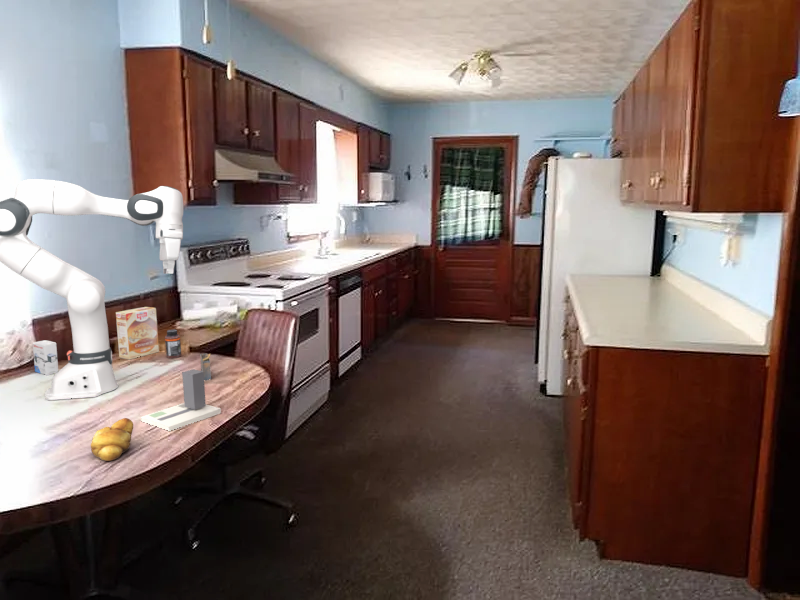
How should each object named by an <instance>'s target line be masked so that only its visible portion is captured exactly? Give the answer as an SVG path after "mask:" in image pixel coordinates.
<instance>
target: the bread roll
mask: <svg viewBox="0 0 800 600" xmlns="http://www.w3.org/2000/svg"><path fill="white" fill-rule="evenodd" d="M133 431H134V422H133V421H132V419H130V418H128V417H124V418H121V419H118V420H117V421H116V422H114V423H113V424H111V425H110V426H105V427H103V428H100V429H98V430H97V431H96V432H95V433H94V435H93V437H92V439H91V443H90V449H91V450H90V451H91V452H92V454H93V455H94V456H95V457H97V458H99V459H100V460H102V461H108V462H109V461H113V460H117V459H118V458H120V457H121V455H122V453H125V452H127V451H128V450H129V448H130V447H131V441H132V435H133Z"/></svg>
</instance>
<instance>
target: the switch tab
mask: <svg viewBox="0 0 800 600" xmlns="http://www.w3.org/2000/svg"><path fill="white" fill-rule="evenodd" d="M181 375H182V376H181V377H182V387H183V403H184V405H185V407H187V408H191V409H194V410H196V409H199V408H202V407H204V406H206V403H207V402H206V392H205V391H206V389H205V388H206V387H205V381H204V372H203V371H201V370H198V369H193V368H192V369H188V370H185V371H182V374H181Z"/></svg>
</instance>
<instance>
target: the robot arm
mask: <svg viewBox="0 0 800 600" xmlns="http://www.w3.org/2000/svg"><path fill="white" fill-rule="evenodd" d="M37 214H44V215H45V214H47V215H55V216H67V217H68V216H86V215H87V216H88V215H101V216H107V217H116V218H122V219H127V220H128V221H131V222H132V223H133V224H136V225H138V226H145V227H146V226H150V225H152V224H154V223H155V239H159V260H160V262H161V261H162V267H163V274H165V275H167V274H168V275H169V274H172V275H173V274H174V269H175V264H176V261H178V260H179V258H180V253H181V252H180V250H181V245H182V243H181V242H182V240H184V239H183V238H184V223H183V216H184V196H183V194H182V192H181V190H179V189H177V188H175V187H173V186H168V185H160V186H158V187H157V188H154V189H153V190H150V191H147V192H142V193H137V194H135V195H132V196H131V197H130V198H129V199H120V198H113V197H106V196H101V195H98V194H95V193H93V192H91V191H90V190H88V189H86V188H84V187H82V186H80V185H79V184H78V185H77V184H74V183H72V182H71V183H70V182H67V181H61V180H54V179H41V178H39V179H37V178H35V179H34V178H33V179H32V178H31V179H24V180H21V181H20V182H19V183H18V184H17V186H16V189H15V194H14V197H10V198H7V199H4V200H0V262H1V263H2V264H3V265H4V266H5V267H7V268H9V270H11V271H12V272H15V273H16V274H17V275H20V276H21V277H23V278H24V279H26V280H28V281H30V282H31V283H33V284H35V285H36V286H38V287H40V288H41V289H43V290H46V291H49V292H51V293H53V294H56V295H58V296H60V297H62V298H64V299H66V304H67V311H68V317H69V322H70V328H71V334H72V335H71V336H72V344H73V345H72V347H73V350H68V351H67V352H66V356H67V362H68V363H66V365H64V366H63V367H61V369H58V372H57V373H54V375H53V377H52V380H51V387H49V388H47V389H46V391H44V398H45V399H46V400H47V401H56V400H57V401H59V400H68V399H69V400H71V398H72V399H81V398H82V399H84V398H94V397H99V396H101V395H102V394H106V393H108V392H112V391H114V390H116V389H118V387H119V383H118V382H117V380H116V377H115V374H114V372H115V371H114V369H113V351H112V348H111V347H110V338H109V327H108V326H109V325H108V319H107V314H106V307H105V306H106V304H105V303H106V302H105V296H106V287H105V285H104V284H103V282H102V281H101V280H100V279H98V278H97V277H94V276H93V275H91V274H90V273H88V272H86V271H84V270H82V269H80V268H79V267H77V266H74V265H72V264H70V263H69V262H66V261H64V260H63V259H61V258H60V257H58V256H56V255H55V254H53V253H52V252H50V251H48V250H46V249H45V248H43V247H41V246H40V245H38V244H37V243H35V242H33V241H32V240H31V239H30V238H29V237H28V234H29V232H30V229H31V227H32V222H33V216H34V215H37Z"/></svg>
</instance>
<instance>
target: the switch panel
mask: <svg viewBox="0 0 800 600" xmlns="http://www.w3.org/2000/svg"><path fill="white" fill-rule="evenodd" d="M220 414H222V410H221V408H220V407H217V406H213V405H210V404H206V406H204V407H202V408H199V409H196V410H194V409H191V408H187V407H185V405H184V402H182V403H179V404H177V405H173V406H171V407H168V408H167V407H166V408H164V409H161V410H158V411H157V410H156V411H154V412H151V413H149V414H145V415H143V416H140V422H141V421H142V422H141V423H143V422H145V423H144V424H146V423H148V424H147V425H149V424H150V425H149V426H152V425H154V426H153V427H155V426H157V427H159V428H158V429H160V428H162V429H161V430H163V429H165V430H164V431H166V430H168V431H167V432H169V431H170V432H172V431H171V430H173V431H175V430H174V429H176V430H178V429H180V428H179V427H181V428H183V427H182V426H184V427H186V426H185V425H187V426H189V425H188V424H190V425H192V424H195V423H198V422H200V420H201V421H203V420H206V419H209V418H212V417H215V416H217V415H220ZM197 421H198V422H197ZM194 422H195V423H194ZM191 423H192V424H191ZM157 427H156V428H157ZM177 428H178V429H177Z"/></svg>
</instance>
